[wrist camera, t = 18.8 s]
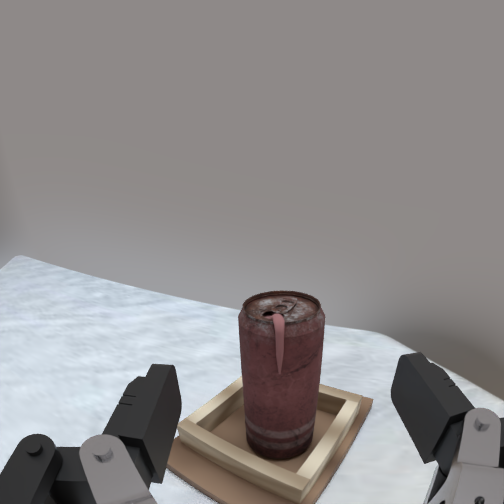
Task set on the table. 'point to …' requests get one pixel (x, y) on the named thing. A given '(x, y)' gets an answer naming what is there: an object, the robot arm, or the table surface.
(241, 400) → the tray
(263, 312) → the can
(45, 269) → the table surface
